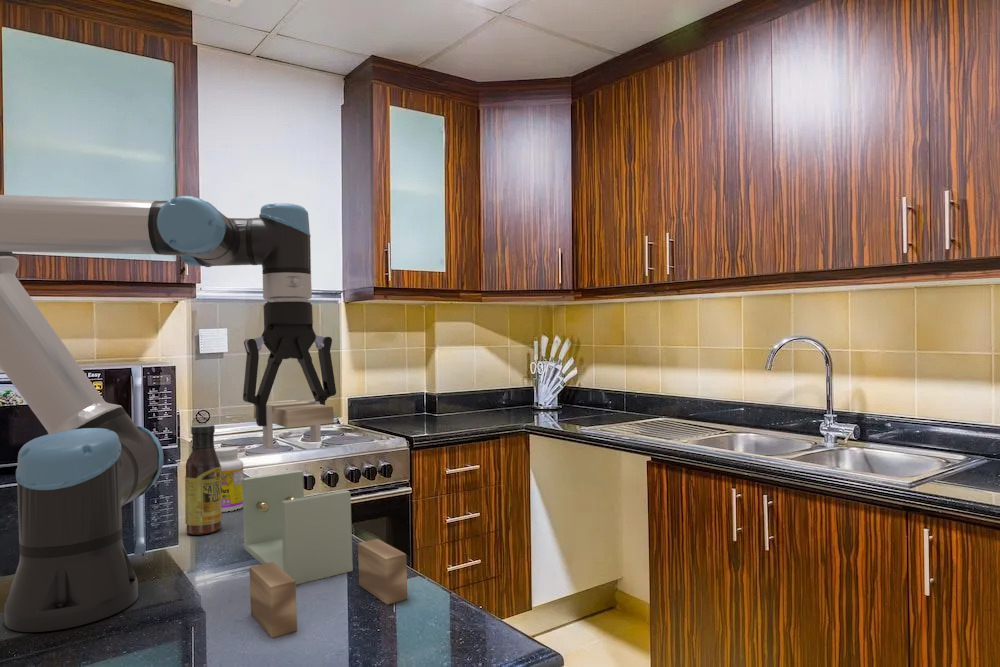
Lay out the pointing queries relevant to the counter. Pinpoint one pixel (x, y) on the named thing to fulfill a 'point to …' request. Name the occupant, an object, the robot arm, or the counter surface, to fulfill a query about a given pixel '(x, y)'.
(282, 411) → the shelf board
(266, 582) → the blocks
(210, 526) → the sauce bottle
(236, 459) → the supplement bottle
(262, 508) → the shelf frame
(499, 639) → the counter surface
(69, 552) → the robot arm
